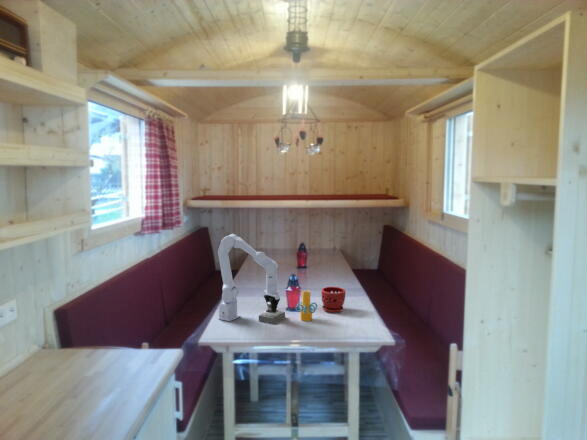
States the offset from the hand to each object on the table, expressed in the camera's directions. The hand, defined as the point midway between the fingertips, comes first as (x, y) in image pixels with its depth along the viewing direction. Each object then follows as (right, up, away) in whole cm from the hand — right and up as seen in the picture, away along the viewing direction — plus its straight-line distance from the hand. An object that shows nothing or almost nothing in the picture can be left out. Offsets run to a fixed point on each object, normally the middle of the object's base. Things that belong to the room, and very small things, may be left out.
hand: (271, 309), depth 226 cm
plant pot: (+33, -4, +15) cm, 37 cm away
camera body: (0, -5, 0) cm, 5 cm away
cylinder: (+18, -5, 0) cm, 19 cm away
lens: (0, -2, 0) cm, 2 cm away
